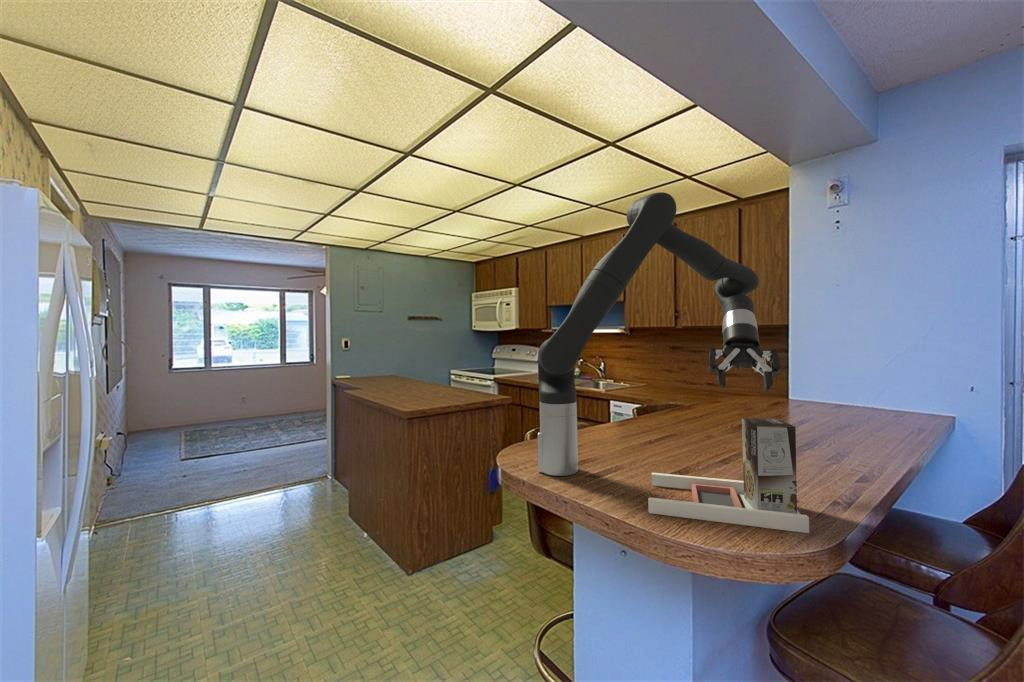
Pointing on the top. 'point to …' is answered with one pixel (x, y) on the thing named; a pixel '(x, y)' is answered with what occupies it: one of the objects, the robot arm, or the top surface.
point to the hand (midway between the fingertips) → (745, 387)
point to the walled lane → (720, 506)
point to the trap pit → (715, 495)
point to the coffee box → (769, 464)
